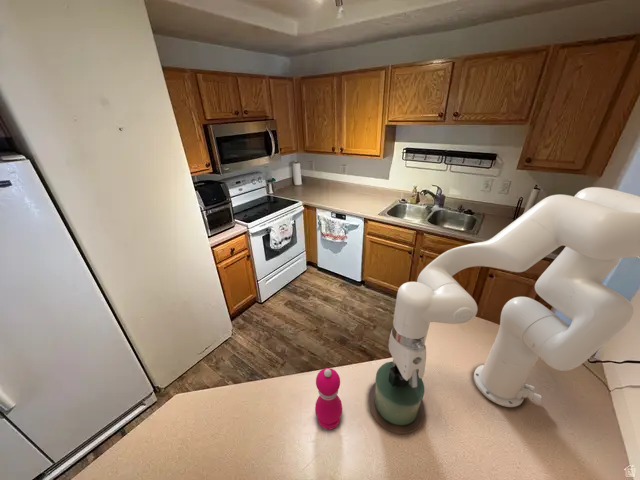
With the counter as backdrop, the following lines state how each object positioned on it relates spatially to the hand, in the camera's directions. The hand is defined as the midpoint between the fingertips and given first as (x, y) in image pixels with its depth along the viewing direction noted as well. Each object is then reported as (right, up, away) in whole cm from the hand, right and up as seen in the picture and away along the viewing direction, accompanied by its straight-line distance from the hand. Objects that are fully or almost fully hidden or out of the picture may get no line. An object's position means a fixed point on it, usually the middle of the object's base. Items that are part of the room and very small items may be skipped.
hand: (399, 380), depth 68 cm
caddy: (0, -8, +5) cm, 10 cm away
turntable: (0, -10, +5) cm, 11 cm away
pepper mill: (-19, -12, +3) cm, 22 cm away
